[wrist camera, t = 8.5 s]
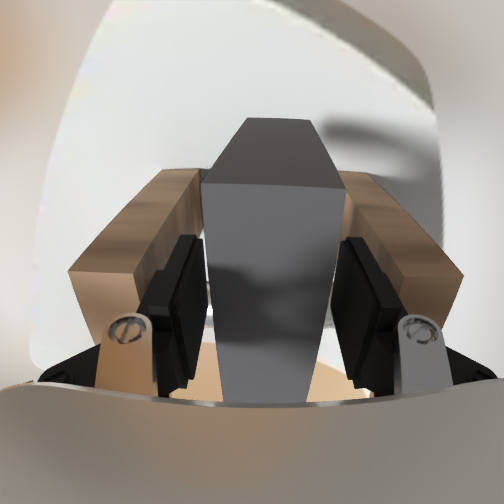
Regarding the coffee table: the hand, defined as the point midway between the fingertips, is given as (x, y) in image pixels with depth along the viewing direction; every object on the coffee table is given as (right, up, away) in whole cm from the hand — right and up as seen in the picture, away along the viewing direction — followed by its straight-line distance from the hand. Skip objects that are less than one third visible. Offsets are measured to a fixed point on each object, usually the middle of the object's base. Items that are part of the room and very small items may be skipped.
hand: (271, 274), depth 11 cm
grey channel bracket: (+1, +3, +9) cm, 9 cm away
